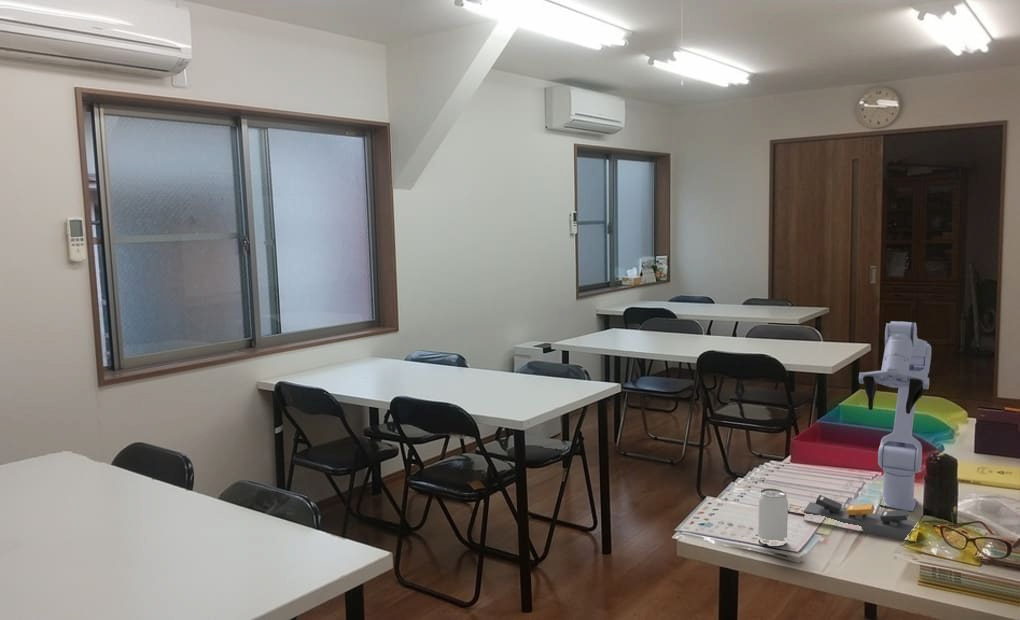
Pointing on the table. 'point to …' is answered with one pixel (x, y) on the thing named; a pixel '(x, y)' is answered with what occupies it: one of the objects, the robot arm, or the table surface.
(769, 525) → the can
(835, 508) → the black rocker
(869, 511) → the orange rocker
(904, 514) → the black rocker
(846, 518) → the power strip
